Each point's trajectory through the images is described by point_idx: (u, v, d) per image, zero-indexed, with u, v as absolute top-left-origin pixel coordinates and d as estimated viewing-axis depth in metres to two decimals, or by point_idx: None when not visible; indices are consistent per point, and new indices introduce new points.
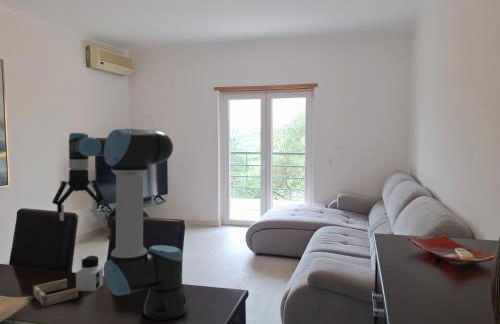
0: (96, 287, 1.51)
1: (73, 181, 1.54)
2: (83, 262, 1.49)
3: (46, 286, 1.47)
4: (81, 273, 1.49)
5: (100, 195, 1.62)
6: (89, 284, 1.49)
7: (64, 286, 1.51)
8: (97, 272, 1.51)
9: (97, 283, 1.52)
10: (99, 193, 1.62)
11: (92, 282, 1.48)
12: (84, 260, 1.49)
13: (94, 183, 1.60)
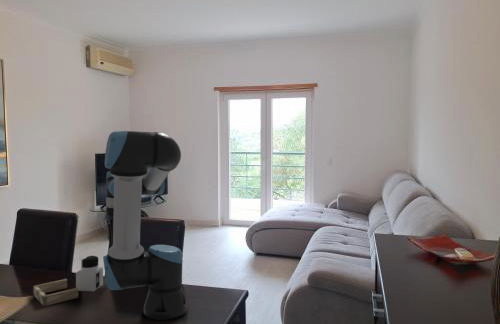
0: (96, 287, 1.51)
1: (110, 216, 1.61)
2: (83, 262, 1.49)
3: (46, 286, 1.47)
4: (81, 273, 1.49)
5: None
6: (89, 284, 1.49)
7: (64, 286, 1.51)
8: (97, 272, 1.51)
9: (97, 283, 1.52)
10: None
11: (92, 282, 1.48)
12: (84, 260, 1.49)
13: None
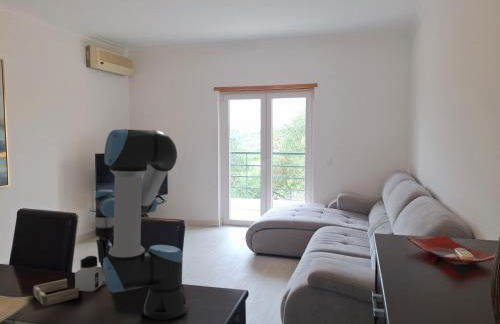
0: (95, 287, 1.50)
1: None
2: (82, 262, 1.49)
3: (46, 286, 1.47)
4: (80, 273, 1.49)
5: None
6: (88, 284, 1.48)
7: (64, 286, 1.51)
8: (96, 272, 1.51)
9: (96, 283, 1.51)
10: None
11: (91, 282, 1.48)
12: (83, 260, 1.49)
13: (107, 248, 1.52)
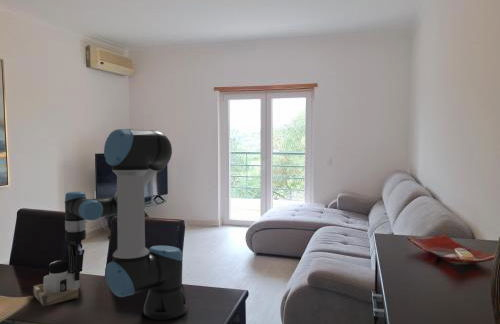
0: None
1: None
2: (49, 267, 1.43)
3: None
4: (47, 278, 1.42)
5: (75, 267, 1.45)
6: (53, 291, 1.41)
7: None
8: (62, 279, 1.42)
9: (63, 290, 1.43)
10: (75, 264, 1.45)
11: (55, 289, 1.40)
12: (50, 265, 1.43)
13: (77, 253, 1.44)
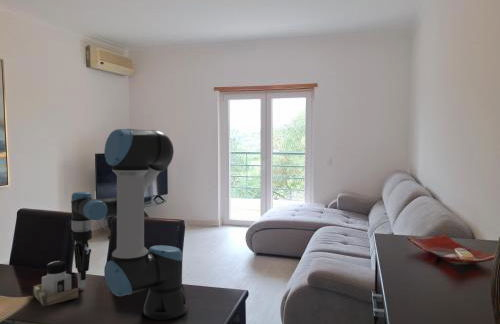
0: None
1: (76, 240, 1.51)
2: (47, 267, 1.42)
3: None
4: (45, 279, 1.42)
5: (82, 266, 1.47)
6: (50, 292, 1.40)
7: None
8: (60, 280, 1.42)
9: (61, 291, 1.42)
10: (82, 264, 1.46)
11: (52, 290, 1.40)
12: (48, 265, 1.42)
13: (83, 252, 1.45)
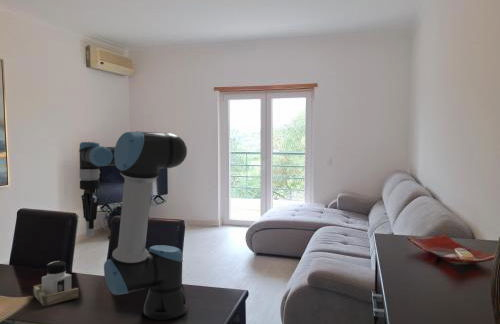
0: None
1: (84, 190, 1.53)
2: (47, 267, 1.42)
3: None
4: (45, 279, 1.42)
5: (90, 214, 1.48)
6: (50, 292, 1.40)
7: None
8: (60, 280, 1.42)
9: (61, 291, 1.42)
10: (90, 212, 1.48)
11: (52, 290, 1.40)
12: (48, 265, 1.42)
13: (91, 200, 1.47)
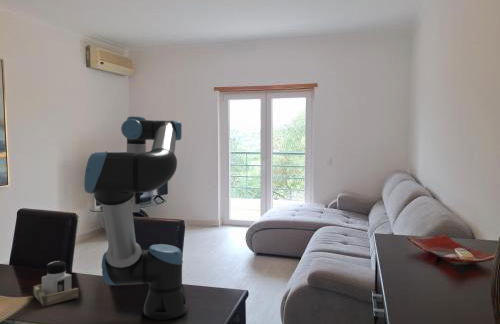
0: None
1: None
2: (47, 267, 1.42)
3: None
4: (45, 279, 1.42)
5: None
6: (50, 292, 1.40)
7: None
8: (60, 280, 1.42)
9: (61, 291, 1.42)
10: None
11: (52, 290, 1.40)
12: (48, 265, 1.42)
13: None
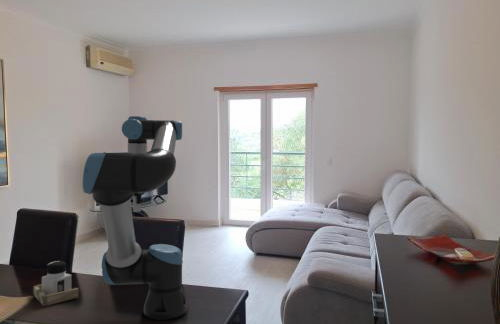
0: None
1: None
2: (47, 267, 1.42)
3: None
4: (45, 279, 1.42)
5: None
6: (50, 292, 1.40)
7: None
8: (60, 280, 1.42)
9: (61, 291, 1.42)
10: None
11: (52, 290, 1.40)
12: (48, 265, 1.42)
13: None
